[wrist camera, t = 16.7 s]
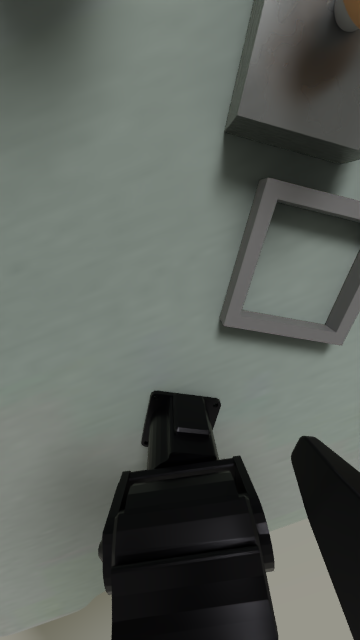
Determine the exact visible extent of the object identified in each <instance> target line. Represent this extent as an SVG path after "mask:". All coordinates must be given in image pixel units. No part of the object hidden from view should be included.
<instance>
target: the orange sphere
mask: <svg viewBox="0 0 360 640" xmlns="http://www.w3.org/2000/svg"><path fill="white" fill-rule="evenodd" d="M334 14H335V19H336V22H337V24H338V26H339V27H340V28H341V29H342V30H344V31H346V32H353V31H356V30H358V29H360V0H336V1H335V7H334Z"/></svg>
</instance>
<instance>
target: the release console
mask: <svg viewBox="0 0 360 640" xmlns="http://www.w3.org/2000/svg"><path fill="white" fill-rule="evenodd" d="M335 1H336V0H254V3H253V7H252V12H251V16H250V20H249V25H248V29H247V34H246V38H245V42H244V47H243V51H242V56H241V60H240V64H239V69H238V73H237V77H236V82H235V86H234V91H233V95H232V99H231V104H230V108H229V113H228V117H227V121H226V126H225V130H224V132H226V133H229V134H233V135H237V136H240V137H244V138H247V139H251V140H255V141H258V142H262V143H265V144H269V145H273V146H276V147H280V148H283V149H287V150H291V151H294V152H298V153H301V154H305V155H309V156H312V157H316V158H319V159H323V160H327V161H330V162H334V163H337V164H344V163H348V162H352V161H356V160H359V159H360V29H358V30H356V31H353V32H346V31H344V30H342V29H341V28H340V27H339V26H338V24H337V22H336V19H335V14H334V7H335Z"/></svg>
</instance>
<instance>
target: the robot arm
mask: <svg viewBox="0 0 360 640" xmlns="http://www.w3.org/2000/svg"><path fill="white" fill-rule="evenodd" d="M154 396H158V397H154ZM214 403H217V404H214ZM220 407H221V403H220V400H219V399H217V398H211V397H203V396H195V395H187V394H179V393H171V392H163V391H153V392H152V393H151V395H150V400H149V405H148V410H147V415H146V420H145V425H144V430H143V435H142V441H141V444H142V445H143V446H145V447H148V462H147V470H142V471H135V472H131V471H125V472H123V473H122V476H121V479H120V482H119V483H118V486H117V489H116V492H115V495H114V498H113V502H112V505H111V508H110V511H109V514H108V517H107V521H106V524H105V527H104V530H103V535H102V540H101V542H100V544H99V549H98V555H99V558H100V559H101V561H102V562H103V579H104V586H105V589H106V592H107V593H108V595H110V594H112V639H111V640H278V632H277V626H276V621H275V616H274V611H273V606H272V601H271V596H270V591H269V586H268V581H267V576H266V572H270V571H274V556H273V549H272V544H271V539H270V534H269V530H268V526H267V522H266V519H265V515H264V512H263V509H262V506H261V503H260V501H259V498H258V496H257V493H256V491H255V489H254V486H253V484H252V482H251V480H250V477H249V475H248V473H247V470H246V468H245V466H244V463H243V461H242V459H241V457H240V456H233V458H229V459H222V460H219V457H218V453H217V449H216V444H215V440H214V435H213V431H212V430H213V427H214V424H215V421H216V418H217V415H218V413H219V410H220ZM291 461H292V465H293V468H294V472H295V475H296V479H297V482H298V486H299V489H300V493H301V496H302V500H303V503H304V507H305V510H306V513H307V516H308V519H309V522H310V525H311V527H312V530H313V533H314V535H315V538H316V541H317V543H318V546H319V549H320V551H321V554H322V557H323V559H324V562H325V564H326V567H327V570H328V572H329V575H330V578H331V580H332V583H333V586H334V588H335V591H336V593H337V596H338V599H339V601H340V604H341V607H342V609H343V612H344V615H345V617H346V620H347V623H348V625H349V628H350V631H351V633H352V636H353V638H354V640H360V472H359V471H357V470H356V469H355V468H354V467H352V466H351V465H350V464H349V463H347V462H346V461H345V460H344V459H342V458H341V457H340V456H339V455H337V454H336V453H335V452H334V451H332V450H331V449H330V448H328V447H327V446H326V445H325V444H323V443H322V442H321V441H320V440H318V439H317V438H315V437H311V436H302V437H300V439H299V440H298V442H297V444H296V446H295V448H294V450H293V452H292V455H291Z"/></svg>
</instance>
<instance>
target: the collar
mask: <svg viewBox="0 0 360 640" xmlns="http://www.w3.org/2000/svg"><path fill="white" fill-rule="evenodd" d="M277 202H278V203H283V204H287V205H291V206H295V207H299V208H303V209H307V210H311V211H315V212H319V213H323V214H327V215H331V216H336V217H340V218H344V219H348V220H352V221H356V222H360V201H358V200H354V199H350V198H346V197H342V196H338V195H334V194H330V193H327V192H323V191H319V190H315V189H311V188H307V187H303V186H300V185H296V184H292V183H288V182H284V181H280V180H276V179H272V178H269V177H268V178H265V179H261V180H259V183H258V187H257V190H256V194H255V197H254V201H253V204H252V207H251V211H250V214H249V218H248V221H247V225H246V228H245V232H244V235H243V239H242V242H241V246H240V249H239V252H238V256H237V259H236V263H235V266H234V270H233V273H232V277H231V280H230V284H229V287H228V290H227V294H226V297H225V301H224V304H223V308H222V311H221V315H220V320H221V322H222V324H223V326H228V327H234V328H240V329H246V330H252V331H258V332H264V333H270V334H276V335H282V336H288V337H294V338H300V339H306V340H312V341H318V342H324V343H329V344H335V345H341V346H342V344H343V342H344V340H345V339H346V337H347V335H348V333H349V331H350V329H351V327H352V325H353V323H354V321H355V319H356V317H357V315H358V313H359V311H360V251H359V253H358V255H357V257H356V260H355V262H354V264H353V266H352V268H351V270H350V272H349V274H348V277H347V279H346V281H345V283H344V285H343V287H342V289H341V292H340V294H339V296H338V298H337V300H336V302H335V304H334V307H333V309H332V311H331V313H330V315H329V317H328V319H327V322H326V324H325V325H323V324H318V323H312V322H307V321H301V320H295V319H290V318H284V317H279V316H273V315H267V314H262V313H256V312H250V311H245V310H242V308H243V305H244V302H245V299H246V296H247V293H248V290H249V287H250V284H251V280H252V277H253V274H254V271H255V268H256V265H257V262H258V259H259V256H260V252H261V249H262V246H263V243H264V240H265V237H266V234H267V231H268V228H269V225H270V221H271V218H272V215H273V212H274V209H275V206H276V203H277Z"/></svg>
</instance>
